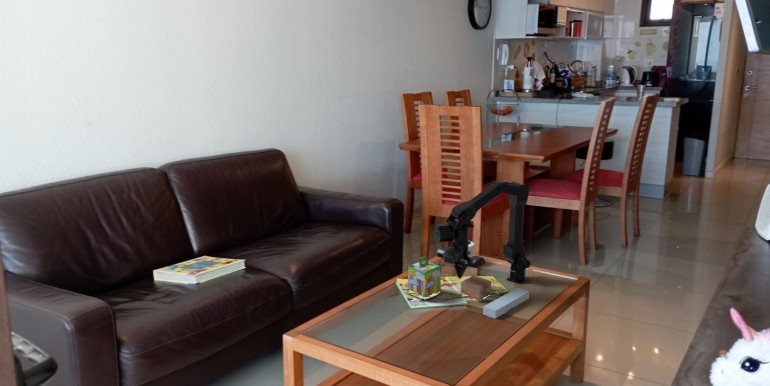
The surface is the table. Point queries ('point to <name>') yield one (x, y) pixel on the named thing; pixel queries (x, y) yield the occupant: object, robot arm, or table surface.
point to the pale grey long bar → (505, 303)
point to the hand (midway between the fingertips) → (459, 278)
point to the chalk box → (424, 277)
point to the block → (476, 287)
